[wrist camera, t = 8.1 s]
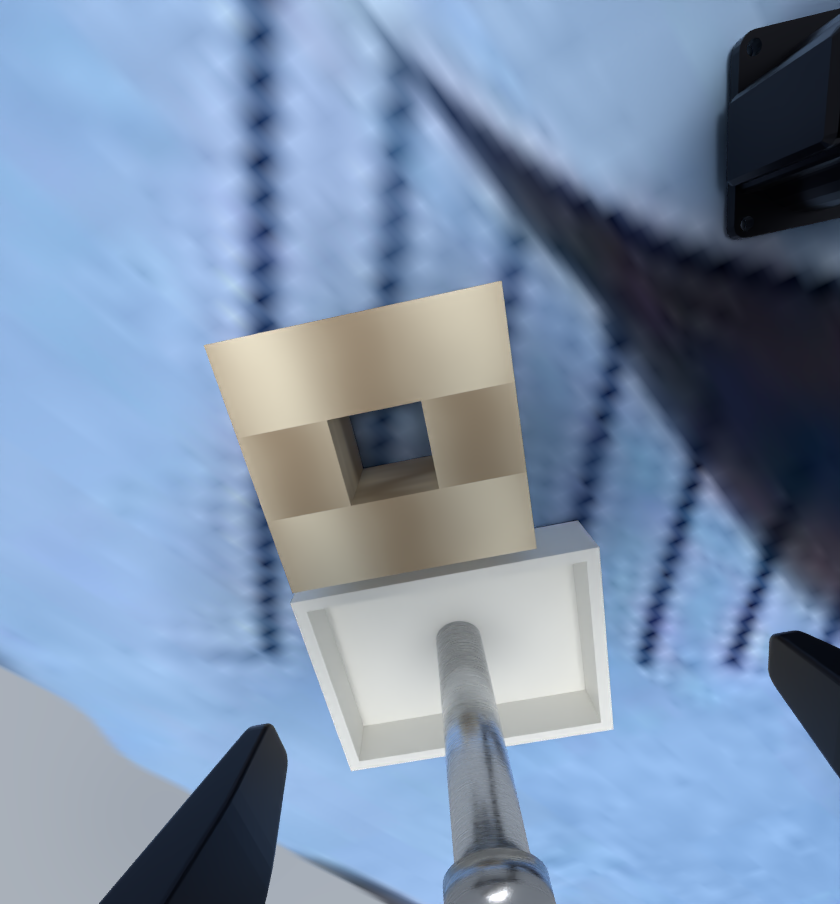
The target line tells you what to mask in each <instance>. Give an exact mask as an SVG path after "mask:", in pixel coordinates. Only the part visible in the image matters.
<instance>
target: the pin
mask: <svg viewBox="0 0 840 904" xmlns="http://www.w3.org/2000/svg"><path fill="white" fill-rule="evenodd" d="M436 645H437V658H438V670H439V682H440V694H441V706H442V719H443V731H444V743H445V755H446V768H447V780H448V792H449V804H450V816H451V829H452V841H453V853H454V864H453V865H452V866H451V867H450V868H449V869H448V871H447V872H446V874H445V877H444V880H443V897H444V904H556V902H555V898H554V894H553V890H552V886H551V882H550V878H549V874H548V871H547V869H546V867H545V865H544V864H543V862H542V861H541V860H539V859H538V858H537V857H535V856H534V855H532V854H530V851H529V846H528V842H527V838H526V833H525V829H524V824H523V820H522V815H521V811H520V807H519V802H518V798H517V793H516V789H515V784H514V780H513V776H512V771H511V767H510V762H509V758H508V753H507V749H506V744H505V740H504V736H503V731H502V727H501V722H500V718H499V713H498V709H497V705H496V700H495V696H494V691H493V687H492V682H491V678H490V674H489V669H488V665H487V660H486V656H485V651H484V647H483V643H482V638H481V634H480V632H479V630H478V629H477V627H475V626H474V625H473V624H471V623H469V622H465V621H454V622H451V623H448V624H446V625H445V626H443V627H442V628H441V629H440V631H439V632H438V634H437V637H436Z"/></svg>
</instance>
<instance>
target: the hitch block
mask: <svg viewBox="0 0 840 904" xmlns="http://www.w3.org/2000/svg"><path fill="white" fill-rule="evenodd" d="M204 347H205V350H206V353H207V355H208V358H209V361H210V364H211V367H212V369H213V372H214V375H215V378H216V380H217V383H218V386H219V389H220V392H221V394H222V397H223V400H224V403H225V406H226V408H227V411H228V414H229V417H230V420H231V422H232V425H233V428H234V431H235V434H236V436H237V439H238V442H239V445H240V448H241V450H242V453H243V456H244V459H245V462H246V464H247V467H248V470H249V473H250V476H251V478H252V481H253V484H254V487H255V490H256V492H257V495H258V498H259V501H260V504H261V506H262V509H263V512H264V515H265V518H266V520H267V523H268V526H269V529H270V532H271V534H272V537H273V540H274V543H275V546H276V548H277V551H278V554H279V557H280V560H281V562H282V565H283V568H284V571H285V574H286V576H287V579H288V582H289V585H290V588H291V590H292V593H297V592H302V591H308V590H313V589H318V588H324V587H329V586H335V585H340V584H346V583H351V582H357V581H362V580H368V579H373V578H379V577H384V576H390V575H395V574H400V573H406V572H411V571H417V570H422V569H428V568H433V567H439V566H444V565H450V564H455V563H461V562H466V561H472V560H477V559H482V558H488V557H493V556H499V555H504V554H510V553H515V552H521V551H526V550H532V549H537V547H536V539H535V531H534V524H533V516H532V509H531V501H530V493H529V486H528V478H527V471H526V463H525V455H524V448H523V440H522V433H521V425H520V417H519V410H518V402H517V395H516V387H515V379H514V372H513V364H512V357H511V349H510V341H509V334H508V326H507V319H506V311H505V303H504V296H503V288H502V281H498V282H493V283H489V284H484V285H479V286H475V287H470V288H466V289H461V290H456V291H452V292H447V293H443V294H438V295H433V296H429V297H424V298H420V299H415V300H410V301H406V302H401V303H396V304H392V305H387V306H383V307H378V308H373V309H369V310H364V311H360V312H355V313H350V314H346V315H341V316H337V317H332V318H327V319H323V320H318V321H313V322H309V323H304V324H300V325H295V326H290V327H286V328H281V329H277V330H272V331H267V332H263V333H258V334H254V335H249V336H244V337H240V338H235V339H230V340H226V341H221V342H217V343H212V344H207V345H204ZM419 401H421V403H422V408H423V413H424V418H425V423H426V427H427V432H428V437H429V442H430V447H431V452H432V455H431V456H426V457H421V458H416V459H411V460H406V461H400V462H395V463H390V464H385V465H380V466H375V467H370V468H365V469H363V466H362V462H361V458H360V454H359V451H358V447H357V443H356V439H355V435H354V432H353V428H352V424H351V420H350V415H355V414H360V413H365V412H370V411H375V410H380V409H384V408H389V407H394V406H399V405H404V404H409V403H414V402H419Z"/></svg>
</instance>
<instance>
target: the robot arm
mask: <svg viewBox="0 0 840 904" xmlns="http://www.w3.org/2000/svg"><path fill="white" fill-rule="evenodd" d="M747 45H750V46H751V47H752V49H753V54H752V56H750V55H749V54H748V53H747ZM727 182H728V194H727V234H728V235H729V237H730V238H732V239H734V240H739V239H744V238H749V237H753V236H758V235H762V234H767V233H772V232H776V231H781V230H786V229H790V228H795V227H800V226H804V225H809V224H813V223H818V222H823V221H827V220H832V219H837V218H840V9H836V10H832V11H827V12H823V13H819V14H815V15H811V16H807V17H802V18H798V19H794V20H790V21H786V22H782V23H778V24H773V25H769V26H765V27H761V28H757V29H754V30H752V31H750V32H748V33H747V34H746V35H745V36H744V37H742V38H741V39H740V40H739V41H738V42H737V43H736V44H735V46H734V48H733V50H732V55H731V79H730V104H729V107H728V139H727ZM743 219H744V220H745V221H746V227H745V229H744V230H742V229H741V221H742V220H743ZM768 671H769V675H770V678H771V680H772V682H773V684H774V686H775V687H776V689H777V690H778V691H779V693H780V694H781V696H782V697H783V699H784V700H785V701H786V703H787V704H788V706H789V707H790V709H791V710H792V711H793V713H794V714H795V716H796V717H797V719H798V720H799V721H800V723H801V724H802V726H803V727H804V729H805V730H806V731H807V733H808V734H809V736H810V737H811V739H812V740H813V741H814V743H815V744H816V746H817V747H818V749H819V750H820V751H821V753H822V754H823V756H824V757H825V759H826V760H827V761H828V763H829V764H830V766H831V767H832V769H833V770H834V771H835V773H836V774H837V775H838V777H839V778H840V648H837V647H835V646H833V645H831V644H828V643H826V642H824V641H822V640H820V639H817V638H815V637H813V636H811V635H809V634H806V633H804V632H801V631H788V632H782V633H777V634H773V635H772V636H771V638H770V641H769V661H768ZM287 762H288V761H287V754H286V751H285V748H284V746H283V744H282V742H281V740H280V738H279V736H278V734H277V732H276V730H275V728H274V726H273V725H271V724H268V723H267V724H261V725H256V726H252V727H250V728H248V729H247V730H246V731H245V732H244V733H243V734H242V735H241V737H240V738H239V739H238V740H237V741H236V743H235V744H234V745H233V746H232V747H231V748H230V750H229V751H228V752H227V753H226V754H225V755H224V757H223V758H222V759H221V760H220V761H219V763H218V764H217V765H216V766H215V767H214V768H213V770H212V771H211V772H210V773H209V774H208V776H207V777H206V778H205V779H204V780H203V781H202V783H201V784H200V785H199V786H198V787H197V789H196V790H195V791H194V792H193V793H192V794H191V796H190V797H189V798H188V799H187V800H186V802H185V803H184V804H183V805H182V806H181V808H180V809H179V810H178V811H177V812H176V813H175V815H174V816H173V817H172V818H171V819H170V820H169V822H168V823H167V824H166V825H165V826H164V827H163V829H162V830H161V831H160V832H159V833H158V834H157V836H156V837H155V838H154V839H153V840H152V842H151V843H150V844H149V845H148V846H147V848H146V849H145V850H144V851H143V852H142V853H141V855H140V856H139V857H138V858H137V859H136V860H135V862H134V863H133V864H132V865H131V866H130V867H129V869H128V870H127V871H126V872H125V873H124V875H123V876H122V877H121V878H120V879H119V881H118V882H117V883H116V884H115V885H114V886H113V888H112V889H111V890H110V891H109V892H108V893H107V895H106V896H105V897H104V898H103V900H101V902H100V903H99V904H265V901H266V897H267V893H268V888H269V883H270V878H271V874H272V868H273V862H274V856H275V850H276V843H277V836H278V829H279V822H280V815H281V808H282V801H283V794H284V787H285V780H286V773H287Z"/></svg>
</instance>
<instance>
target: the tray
mask: <svg viewBox="0 0 840 904" xmlns="http://www.w3.org/2000/svg"><path fill="white" fill-rule="evenodd" d="M534 531H535V539H536V547H537V549H532V550H526V551H521V552H515V553H510V554H504V555H499V556H493V557H488V558H482V559H477V560H472V561H466V562H461V563H455V564H450V565H444V566H439V567H433V568H428V569H422V570H417V571H411V572H406V573H400V574H395V575H390V576H384V577H379V578H373V579H368V580H362V581H357V582H351V583H346V584H340V585H335V586H329V587H324V588H318V589H313V590H308V591H302V592H297V593H295V594H294V596H293V598H292V601H291V603H290V604H291V607H292V609H293V612H294V615H295V618H296V620H297V623H298V626H299V629H300V632H301V634H302V637H303V640H304V643H305V645H306V648H307V651H308V654H309V656H310V659H311V662H312V665H313V667H314V670H315V673H316V676H317V678H318V681H319V684H320V687H321V689H322V692H323V695H324V698H325V700H326V703H327V706H328V709H329V711H330V714H331V717H332V720H333V722H334V725H335V728H336V731H337V734H338V736H339V739H340V742H341V745H342V747H343V750H344V753H345V756H346V758H347V761H348V764H349V767H350V769H351V771H355V770H361V769H368V768H374V767H380V766H386V765H393V764H399V763H405V762H412V761H418V760H424V759H430V758H437V757H443V756H446V755H445V743H444V731H443V719H442V706H441V694H440V682H439V670H438V658H437V645H436V637H437V634H438V632H439V631H440V629H441V628H442V627H443V626H445V625H446V624H448V623H451V622H454V621H465V622H469V623H471V624H473V625H474V626H475V627H477V629H478V630H479V632H480V634H481V638H482V643H483V647H484V651H485V656H486V660H487V665H488V669H489V674H490V678H491V682H492V687H493V691H494V696H495V700H496V705H497V709H498V713H499V718H500V722H501V727H502V731H503V736H504V740H505V744H506V746H512V745H518V744H525V743H531V742H537V741H544V740H550V739H556V738H562V737H569V736H575V735H581V734H588V733H594V732H600V731H606V730H613V718H612V705H611V692H610V679H609V666H608V653H607V641H606V628H605V615H604V602H603V589H602V576H601V563H600V550H599V546H598V545H597V544H596V542H595V541H594V540H593V539H592V537H591V536H590V535H589V534H588V532H587V531H586V530H585V529H584V527H583V526H582V525H581V524H580V522H579V521H578V520H577V521H572V522H566V523H561V524H555V525H550V526H545V527H539V528H534Z"/></svg>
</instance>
